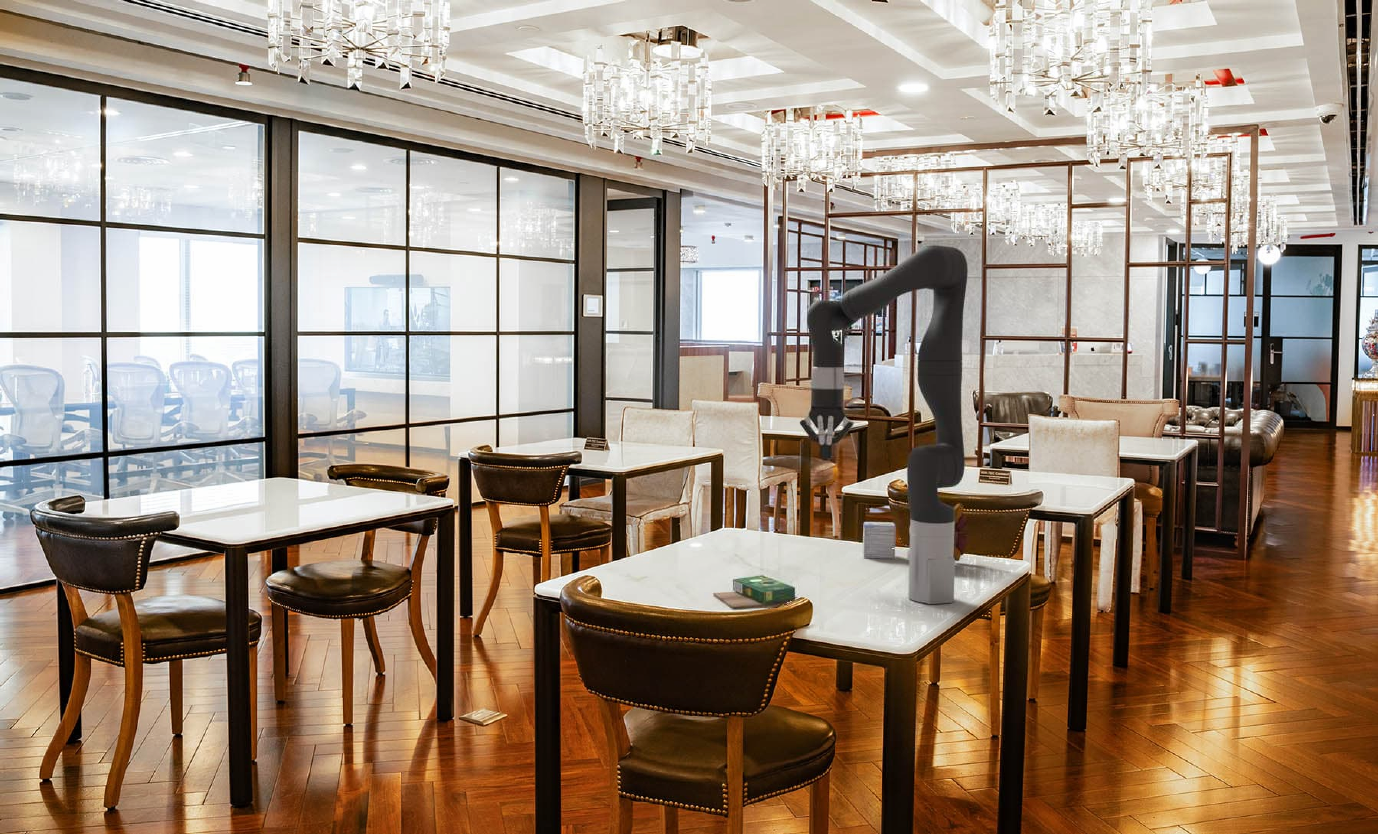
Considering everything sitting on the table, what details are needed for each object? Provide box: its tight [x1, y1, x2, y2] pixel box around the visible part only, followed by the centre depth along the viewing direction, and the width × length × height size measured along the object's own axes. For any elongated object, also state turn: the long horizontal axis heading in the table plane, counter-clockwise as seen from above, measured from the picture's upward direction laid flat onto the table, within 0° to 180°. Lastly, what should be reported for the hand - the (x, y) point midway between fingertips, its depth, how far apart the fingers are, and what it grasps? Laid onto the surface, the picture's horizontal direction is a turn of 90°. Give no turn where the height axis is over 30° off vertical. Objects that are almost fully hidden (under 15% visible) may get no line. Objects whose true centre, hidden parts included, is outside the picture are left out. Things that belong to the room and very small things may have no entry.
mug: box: [906, 503, 969, 565], centre depth 268 cm, size 11×16×15 cm, turn 111°
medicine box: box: [862, 521, 897, 560], centre depth 276 cm, size 8×4×9 cm, turn 84°
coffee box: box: [732, 575, 796, 604], centre depth 233 cm, size 8×3×13 cm
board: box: [713, 591, 798, 610], centre depth 232 cm, size 12×16×1 cm
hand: (825, 460), depth 254 cm, fingers closed
